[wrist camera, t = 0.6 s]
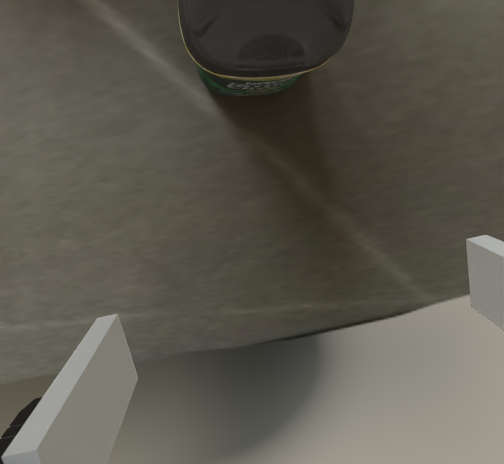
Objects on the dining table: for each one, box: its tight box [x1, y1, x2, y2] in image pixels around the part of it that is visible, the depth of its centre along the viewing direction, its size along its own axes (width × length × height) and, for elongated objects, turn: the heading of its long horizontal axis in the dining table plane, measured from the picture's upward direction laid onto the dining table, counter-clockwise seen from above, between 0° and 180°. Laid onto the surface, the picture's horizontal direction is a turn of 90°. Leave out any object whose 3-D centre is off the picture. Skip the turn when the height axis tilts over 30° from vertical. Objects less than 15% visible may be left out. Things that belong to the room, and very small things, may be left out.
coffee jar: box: [177, 0, 354, 96], centre depth 28 cm, size 10×8×19 cm
